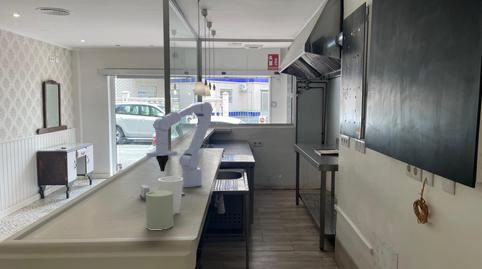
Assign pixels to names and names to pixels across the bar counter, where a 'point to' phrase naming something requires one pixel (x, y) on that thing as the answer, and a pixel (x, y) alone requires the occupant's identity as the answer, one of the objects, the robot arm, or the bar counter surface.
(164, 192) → the can
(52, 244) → the bar counter surface
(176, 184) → the foam cup
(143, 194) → the plate
